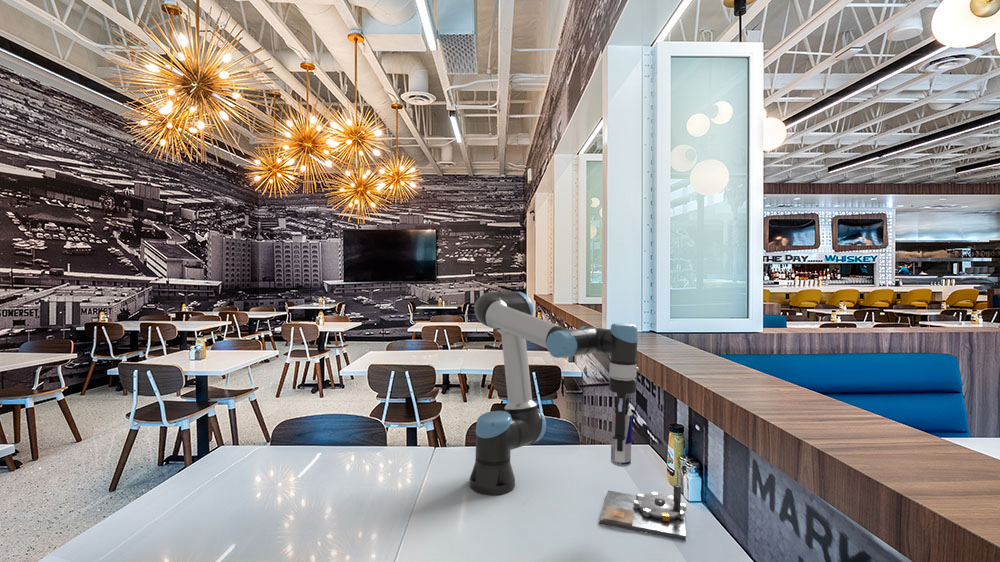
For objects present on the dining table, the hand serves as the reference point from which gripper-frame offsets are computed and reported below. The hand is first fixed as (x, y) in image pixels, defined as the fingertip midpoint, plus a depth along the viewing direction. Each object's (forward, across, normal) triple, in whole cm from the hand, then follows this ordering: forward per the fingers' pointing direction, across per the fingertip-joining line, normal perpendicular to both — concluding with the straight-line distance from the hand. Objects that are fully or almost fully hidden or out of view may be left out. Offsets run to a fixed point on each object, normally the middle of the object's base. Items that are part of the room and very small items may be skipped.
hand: (620, 457), depth 140 cm
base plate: (+18, +6, -6) cm, 20 cm away
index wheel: (+17, +9, -11) cm, 22 cm away
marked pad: (+17, 0, 0) cm, 17 cm away
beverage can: (+2, 0, 0) cm, 2 cm away
